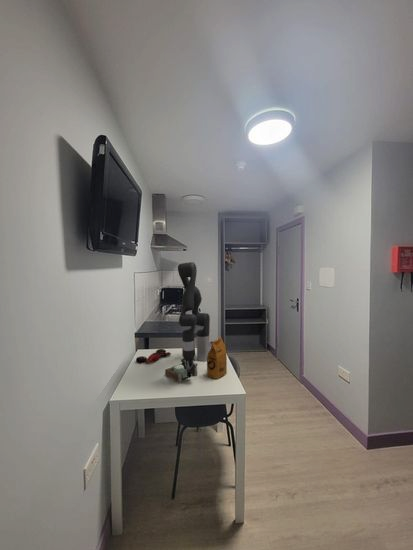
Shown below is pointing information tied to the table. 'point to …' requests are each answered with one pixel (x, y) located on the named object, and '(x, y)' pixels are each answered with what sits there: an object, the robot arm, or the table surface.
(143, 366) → the table surface
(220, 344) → the coffee package
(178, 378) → the bay
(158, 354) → the toy motorcycle
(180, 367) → the cart
